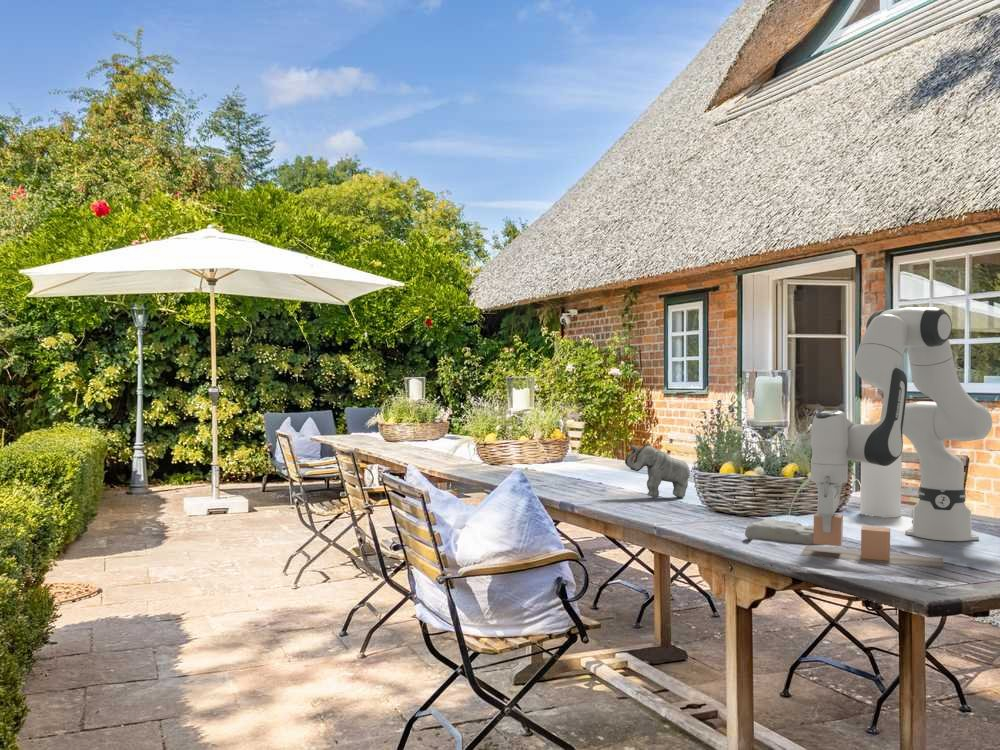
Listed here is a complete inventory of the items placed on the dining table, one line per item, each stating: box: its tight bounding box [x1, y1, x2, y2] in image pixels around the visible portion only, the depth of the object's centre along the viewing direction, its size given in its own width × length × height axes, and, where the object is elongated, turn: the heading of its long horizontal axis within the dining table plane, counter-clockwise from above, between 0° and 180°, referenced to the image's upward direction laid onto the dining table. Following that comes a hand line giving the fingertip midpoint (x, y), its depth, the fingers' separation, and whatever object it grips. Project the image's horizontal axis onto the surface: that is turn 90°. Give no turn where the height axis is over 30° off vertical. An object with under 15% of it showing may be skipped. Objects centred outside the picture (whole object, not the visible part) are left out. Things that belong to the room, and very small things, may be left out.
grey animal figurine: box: [624, 444, 691, 499], centre depth 322 cm, size 25×9×20 cm, turn 100°
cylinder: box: [859, 452, 903, 518], centre depth 288 cm, size 12×12×25 cm
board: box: [800, 545, 945, 570], centre depth 212 cm, size 13×32×1 cm, turn 65°
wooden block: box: [860, 525, 891, 561], centre depth 212 cm, size 6×6×7 cm
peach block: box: [812, 511, 844, 547], centre depth 216 cm, size 6×6×7 cm
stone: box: [744, 518, 814, 545], centre depth 238 cm, size 21×15×5 cm
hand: (828, 529), depth 216 cm, fingers closed on peach block, 6 cm apart
